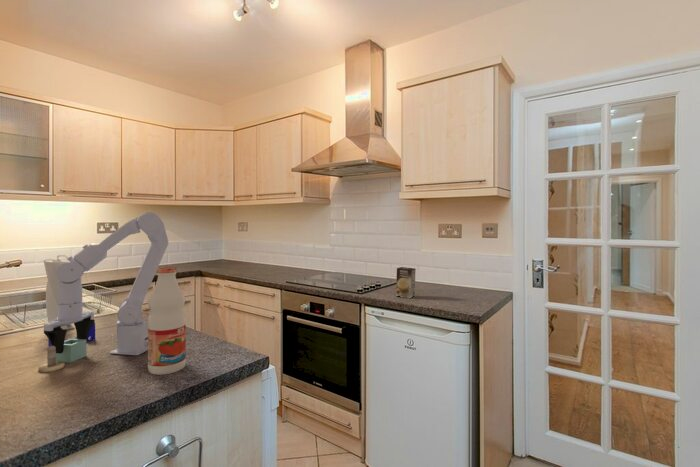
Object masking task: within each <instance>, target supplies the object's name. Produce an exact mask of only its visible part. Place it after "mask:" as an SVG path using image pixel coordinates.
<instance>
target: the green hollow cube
mask: <svg viewBox="0 0 700 467" xmlns="http://www.w3.org/2000/svg"><path fill="white" fill-rule="evenodd" d="M67 339H68V340H66V341H64V350H63V353H61V354H59V353H56V362H64V363H70V364H71V363H73V362H76V361H79V360H80V359H82V358H85V357H87V354H88V353H87V342H86V340H85V339H72V338H67Z"/></svg>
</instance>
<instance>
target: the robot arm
mask: <svg viewBox="0 0 700 467" xmlns="http://www.w3.org/2000/svg"><path fill="white" fill-rule="evenodd" d="M165 226H166V225H165V223H164V221H163V220H162V219H161V217H160V216H159V214H157V213H155V212H153V211H147V212H143V213H142V214H140V216H139V217H138V216H137V217H135V218H133V219H131V220H129V221H127V222H125V223H124V224H123V225H122V226H120V227H118V228H117V229H116V230H115V231H114V232H112V233H111V234H110V235H108V236H107V237H106V238H104V239H103V240H102V241H100V242H99V243H97V242H94V243H89V244H84V245H83V246H82V249H81V250H80V251H78V252H77V253H76V254H74V255H73V256H71V255H70V256H69V257H68V259H67V261H68V260H69V262H66V263H63V264H61V265H60V266H59V267H58V269H57V271H56V276H57V278H58V279H59V280H58V317H56V319H55V320H53V321H51V322H48V321H47V322H46V323H44V324H43V334H44V335H45V337H47V338H48V339H49V340H50V342H51V344H52V346H55V347H56V353H59V354H61V353H63V350H64V339H66V334H67V332H68V330H64V329H62V328H61V327H63V326H66V325H69V324H71V325H72V324H73V325H74V329H75V331H76V337H77V339H85V340H86V341H87V337H88V334H89V331H90V329H91V327H92V326H93V324H94V323H95V324H96V321H95V319H94V318H95V316H94V315H95V314H94V313H95V312H94V311H84V312H83V285H82V284H83V283H82V277H83V275H84V273H85V272H89V271H90V270H91V269H93V268H94V267H95V266H97V265H98V264H100V263H101V262H102V261H104V260H105V259H106V258H108V257H107V256H108V251H110V249H112V248H113V247H115V246H116V245H117V244H119V243H120V242H122V241H123V240H124V239H126V238H127V237H129V236H131V235H136V234H140V233H141V231H142V232H144V234H146V236H147V238H148V240H149V241H150V243H151V244H150V246H149V248H148V251H147V253H146V255H145V257H144V260H143V262H142V264H141V267H140V269H139V271H138V274H137V275H136V278H135V280H134V282H133V285H132V286H131V289H130V291H129V293H128V294H127V296H126V298H125V299H124V300H123V301H122V302H121V303H120V304H119V307H118V311H117V315H116V316H117V319H118V320H117V321H116V349H113V350H111V351H110V352H109V354H112V355H128V356H139V355H141V354H143V353H144V352H148V322H145V321H144V317H142V308H143V304H144V302H145V298H146V296H147V293H148V292H149V291H148V290H149V289H150V287H151V285H152V281H153V279H154V278H155V274H157V269H158V268H159V266H160V263H161V262H162V259H163V257H164V255H165V252H166V251H167V248H168V246H169V240H168V239H169V238H168V236H167V231H166V227H165Z"/></svg>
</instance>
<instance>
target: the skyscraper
mask: <svg viewBox="0 0 700 467" xmlns="http://www.w3.org/2000/svg"><path fill="white" fill-rule="evenodd" d="M59 257H65V258H66V259H67V260H63V258H59ZM68 258H69V257H68V256H66V255H65V254H59V255H57V256H56V258H47V259H44V260H43V264H44V270H45V274H46V278H47V282H46V287H45V306H46V307H45V308H46V317H47V323H48V322H51V321H53V320H55V319H56V317H58V280H59V279H58V278H57V276H56V271H57V269H58V267H59V266H60V265H61V264H63V263H66V262H69V260H68ZM61 328H62V329H64V330H67V331H70V330H75V326H73V325H72V324H69V325H66V326H63V327H61Z"/></svg>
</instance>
